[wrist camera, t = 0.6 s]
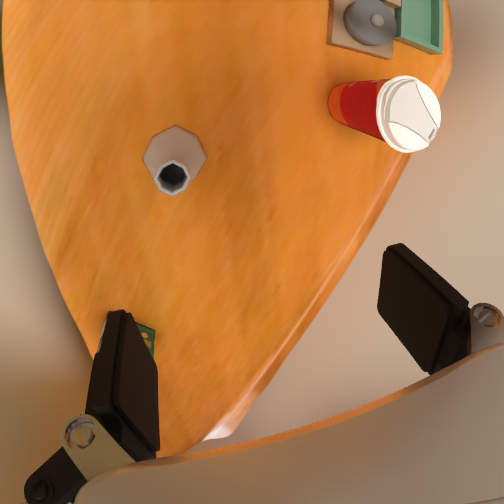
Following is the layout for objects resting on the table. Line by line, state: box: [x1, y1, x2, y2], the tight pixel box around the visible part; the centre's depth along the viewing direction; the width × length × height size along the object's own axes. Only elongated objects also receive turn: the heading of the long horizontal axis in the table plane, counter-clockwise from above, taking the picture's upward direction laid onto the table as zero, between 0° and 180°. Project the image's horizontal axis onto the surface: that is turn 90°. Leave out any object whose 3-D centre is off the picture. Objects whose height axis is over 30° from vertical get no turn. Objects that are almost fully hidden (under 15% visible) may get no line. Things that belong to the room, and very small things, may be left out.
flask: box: [142, 125, 207, 196], centre depth 31 cm, size 7×7×10 cm
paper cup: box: [328, 75, 441, 153], centre depth 30 cm, size 8×8×14 cm
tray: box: [393, 0, 443, 54], centre depth 29 cm, size 12×8×2 cm, turn 176°
